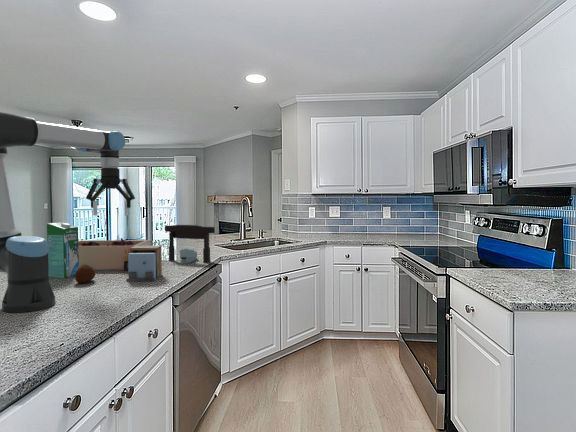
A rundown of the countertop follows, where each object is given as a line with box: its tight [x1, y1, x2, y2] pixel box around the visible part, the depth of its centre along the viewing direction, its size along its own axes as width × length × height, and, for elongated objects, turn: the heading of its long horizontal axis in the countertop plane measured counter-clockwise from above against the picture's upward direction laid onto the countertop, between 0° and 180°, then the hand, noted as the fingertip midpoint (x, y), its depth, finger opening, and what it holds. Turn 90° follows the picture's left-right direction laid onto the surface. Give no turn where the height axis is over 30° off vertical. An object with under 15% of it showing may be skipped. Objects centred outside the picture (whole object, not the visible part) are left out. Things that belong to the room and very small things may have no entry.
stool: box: [164, 224, 216, 264], centre depth 228 cm, size 16×21×33 cm
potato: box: [74, 264, 96, 284], centre depth 171 cm, size 8×12×8 cm, turn 10°
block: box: [127, 253, 157, 280], centre depth 176 cm, size 4×11×12 cm, turn 95°
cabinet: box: [125, 245, 163, 282], centre depth 180 cm, size 14×12×14 cm
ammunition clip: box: [123, 247, 130, 272], centre depth 199 cm, size 11×2×12 cm, turn 108°
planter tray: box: [78, 239, 150, 271], centre depth 214 cm, size 27×38×12 cm
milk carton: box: [46, 221, 79, 279], centre depth 184 cm, size 9×9×25 cm
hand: (111, 215), depth 177 cm, fingers open, 13 cm apart
